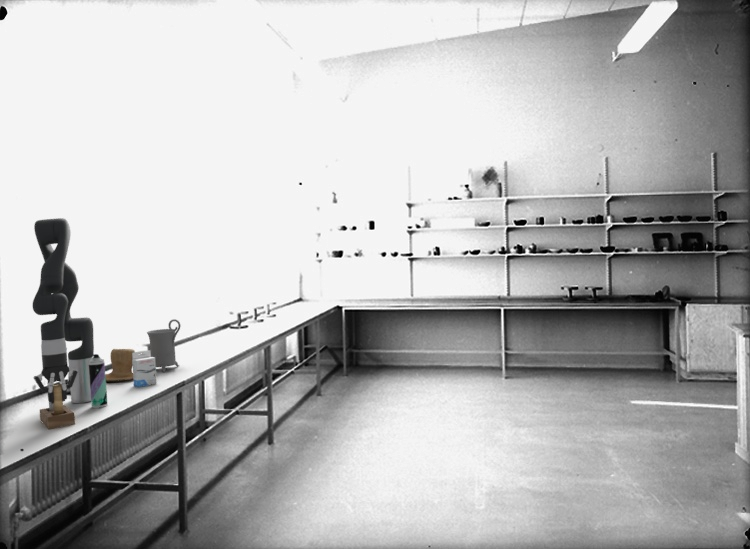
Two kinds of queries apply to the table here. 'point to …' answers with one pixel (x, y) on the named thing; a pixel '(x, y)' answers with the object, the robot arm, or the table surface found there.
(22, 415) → the table surface
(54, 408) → the oak peg
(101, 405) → the spray can
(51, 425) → the walnut block
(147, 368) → the ink box
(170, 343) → the mug
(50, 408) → the grey peg
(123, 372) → the tan ankle boot
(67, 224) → the robot arm
